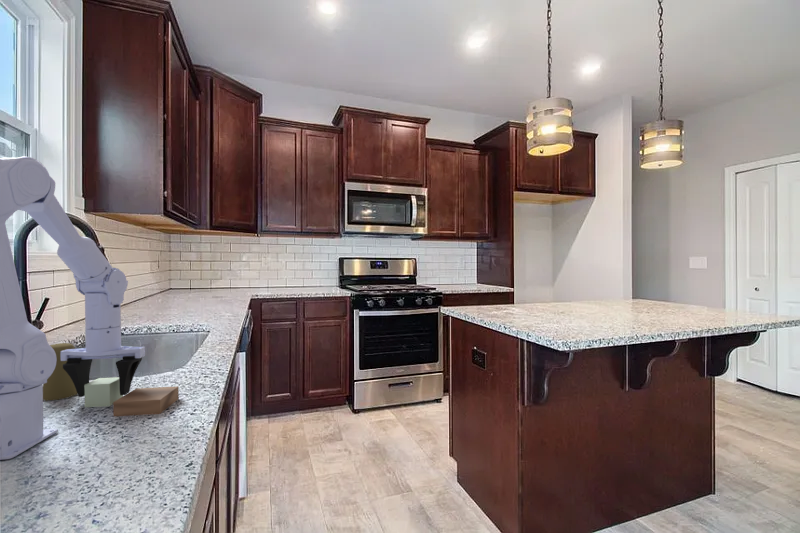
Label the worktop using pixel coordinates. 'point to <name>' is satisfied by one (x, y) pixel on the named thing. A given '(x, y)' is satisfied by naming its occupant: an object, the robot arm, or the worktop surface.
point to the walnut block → (146, 401)
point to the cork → (59, 378)
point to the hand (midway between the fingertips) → (104, 394)
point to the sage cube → (102, 392)
